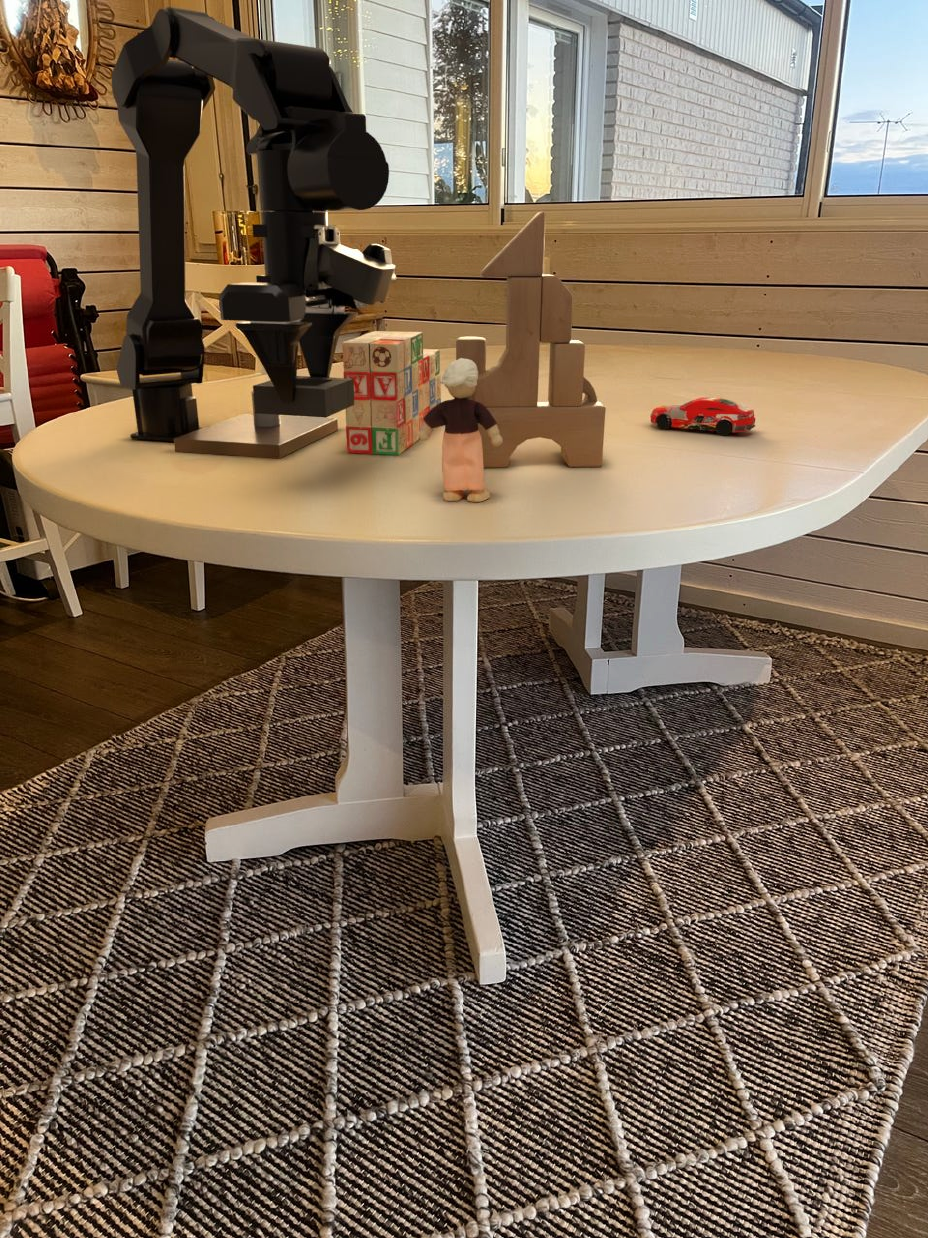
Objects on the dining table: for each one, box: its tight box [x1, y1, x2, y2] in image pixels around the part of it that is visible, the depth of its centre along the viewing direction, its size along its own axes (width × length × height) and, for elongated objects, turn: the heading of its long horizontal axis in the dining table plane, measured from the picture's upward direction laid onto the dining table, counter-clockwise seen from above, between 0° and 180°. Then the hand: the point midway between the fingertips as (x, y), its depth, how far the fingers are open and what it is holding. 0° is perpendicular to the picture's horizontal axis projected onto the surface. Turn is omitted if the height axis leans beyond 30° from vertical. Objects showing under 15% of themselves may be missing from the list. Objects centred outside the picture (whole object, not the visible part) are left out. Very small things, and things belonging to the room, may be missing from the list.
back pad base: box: [173, 390, 339, 459], centre depth 109 cm, size 13×17×6 cm
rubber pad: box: [252, 375, 354, 418], centre depth 85 cm, size 7×7×2 cm
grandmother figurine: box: [418, 358, 503, 503], centre depth 84 cm, size 8×4×13 cm, turn 91°
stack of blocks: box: [341, 330, 442, 456], centre depth 110 cm, size 21×6×12 cm, turn 168°
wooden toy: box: [455, 211, 606, 469], centre depth 96 cm, size 16×7×25 cm, turn 93°
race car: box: [650, 396, 756, 436], centre depth 117 cm, size 13×5×4 cm, turn 60°
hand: (305, 395), depth 85 cm, fingers closed on rubber pad, 7 cm apart
